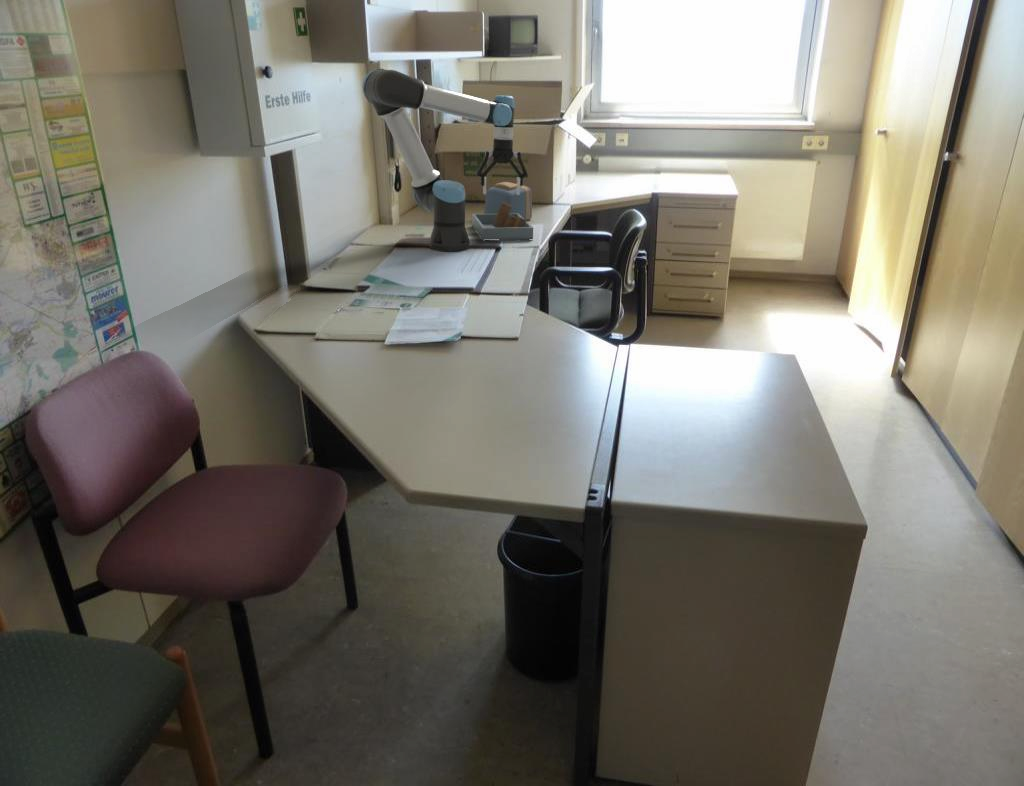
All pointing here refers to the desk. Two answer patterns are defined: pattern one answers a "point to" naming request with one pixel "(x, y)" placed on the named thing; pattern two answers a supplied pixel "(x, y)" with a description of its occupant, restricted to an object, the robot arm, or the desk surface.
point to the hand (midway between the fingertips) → (501, 194)
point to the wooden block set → (507, 218)
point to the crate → (488, 231)
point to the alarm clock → (509, 199)
